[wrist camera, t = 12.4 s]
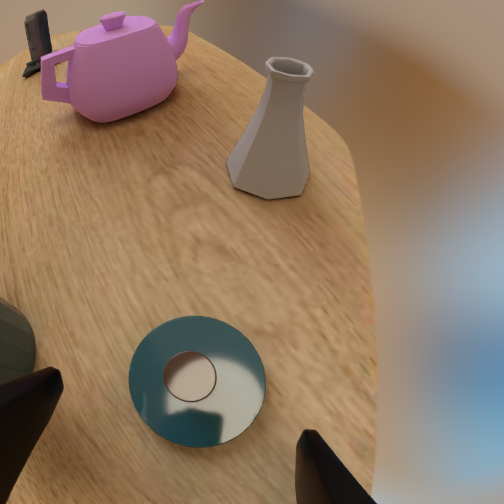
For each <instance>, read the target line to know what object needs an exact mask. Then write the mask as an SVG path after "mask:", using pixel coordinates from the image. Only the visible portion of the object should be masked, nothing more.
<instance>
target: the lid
mask: <svg viewBox="0 0 504 504" xmlns="http://www.w3.org/2000/svg"><path fill="white" fill-rule="evenodd" d="M129 389H130V394H131V398H132V401H133V403H134V406H135V408H136V410H137V412H138V413H139V415H140V417H141V418H142V419H143V421H144V422H145V423H146V424H147V425H148V426H149V427H150V428H151V429H152V430H153V431H154V432H156V433H157V434H158V435H160V436H161V437H163V438H165V439H166V440H169V441H171V442H173V443H176V444H179V445H183V446H188V447H198V448H204V447H212V446H217V445H221V444H223V443H226V442H228V441H230V440H232V439H234V438H236V437H237V436H239V435H240V434H241V433H243V432H244V431H245V430H246V429H247V428H248V427H249V426H250V425H251V424H252V423H253V421H254V420H255V419H256V417H257V415H258V413H259V412H260V409H261V407H262V404H263V401H264V397H265V389H266V378H265V372H264V367H263V364H262V361H261V359H260V357H259V355H258V352H257V351H256V349H255V348H254V346H253V345H252V344H251V342H250V341H249V340H248V339H247V338H246V337H245V336H244V335H243V334H242V333H241V332H240V331H238V330H237V329H235V328H234V327H232V326H230V325H229V324H227V323H225V322H222V321H220V320H217V319H213V318H210V317H203V316H186V317H180V318H176V319H173V320H170V321H167V322H165V323H163V324H161V325H159V326H158V327H157V328H155V329H154V330H152V331H151V332H150V333H149V334H148V335H147V336H146V337H145V338H144V339H143V340H142V342H141V343H140V344H139V346H138V348H137V349H136V351H135V353H134V355H133V358H132V361H131V364H130V370H129Z"/></svg>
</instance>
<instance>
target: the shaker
mask: <svg viewBox="0 0 504 504" xmlns="http://www.w3.org/2000/svg"><path fill="white" fill-rule="evenodd" d="M34 361H35V342H34V336H33V333H32V329H31V327H30V324H29V322H28V321H27V319H26V317H25V316H24V315H23V314H22V313H21V312H20V311H19V310H18V309H17V308H16V307H14V306H13V305H11V304H10V303H8V302H7V301H6V300H4V299H3V298H1V297H0V385H1V384H4V383H6V382H9V381H12V380H15V379H18V378H20V377H23V376H26V375H28V374H31V373H32V371H33V367H34Z"/></svg>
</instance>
